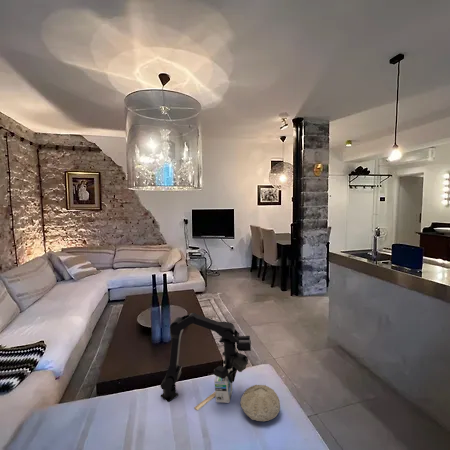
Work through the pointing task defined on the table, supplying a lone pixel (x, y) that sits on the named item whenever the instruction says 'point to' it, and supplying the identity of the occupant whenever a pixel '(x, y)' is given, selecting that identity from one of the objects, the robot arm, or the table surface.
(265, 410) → the beige carved stone
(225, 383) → the light bulb box
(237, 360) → the robot arm
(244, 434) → the table surface
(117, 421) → the table surface
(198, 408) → the rail
